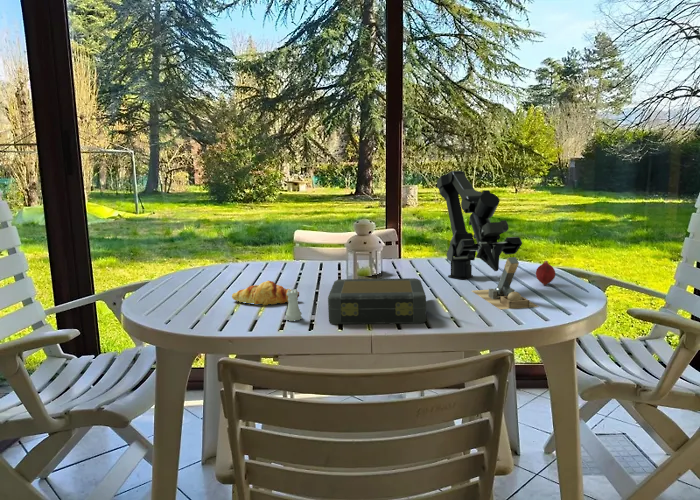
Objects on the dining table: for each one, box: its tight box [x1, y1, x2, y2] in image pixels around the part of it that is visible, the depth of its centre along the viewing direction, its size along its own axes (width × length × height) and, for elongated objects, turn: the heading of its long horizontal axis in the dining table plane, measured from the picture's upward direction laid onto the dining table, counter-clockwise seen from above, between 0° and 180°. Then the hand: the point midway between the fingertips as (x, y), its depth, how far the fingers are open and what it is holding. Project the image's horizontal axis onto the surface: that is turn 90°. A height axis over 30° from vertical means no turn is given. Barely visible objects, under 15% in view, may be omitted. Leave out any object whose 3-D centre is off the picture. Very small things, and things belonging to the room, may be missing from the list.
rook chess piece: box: [285, 288, 303, 322], centre depth 128 cm, size 4×4×8 cm
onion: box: [535, 260, 556, 286], centre depth 156 cm, size 6×6×8 cm
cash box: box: [327, 277, 427, 325], centre depth 132 cm, size 25×20×8 cm
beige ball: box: [508, 291, 523, 301], centre depth 130 cm, size 4×4×4 cm
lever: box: [494, 256, 520, 297], centre depth 133 cm, size 5×3×14 cm
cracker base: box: [471, 287, 540, 310], centre depth 137 cm, size 20×11×4 cm, turn 8°
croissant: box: [231, 280, 300, 306], centre depth 146 cm, size 21×10×8 cm, turn 84°
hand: (496, 270), depth 140 cm, fingers closed
